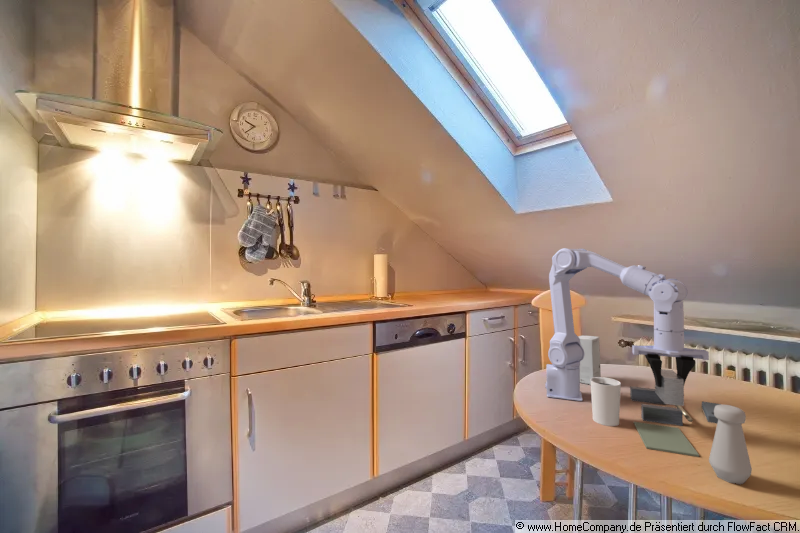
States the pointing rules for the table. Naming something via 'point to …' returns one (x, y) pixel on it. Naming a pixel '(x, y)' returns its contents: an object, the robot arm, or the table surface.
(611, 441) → the table surface
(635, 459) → the table surface
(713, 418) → the bracket
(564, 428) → the table surface
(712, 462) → the salt shaker
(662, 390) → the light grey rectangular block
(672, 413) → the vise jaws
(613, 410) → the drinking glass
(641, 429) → the mat
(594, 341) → the skincare box
